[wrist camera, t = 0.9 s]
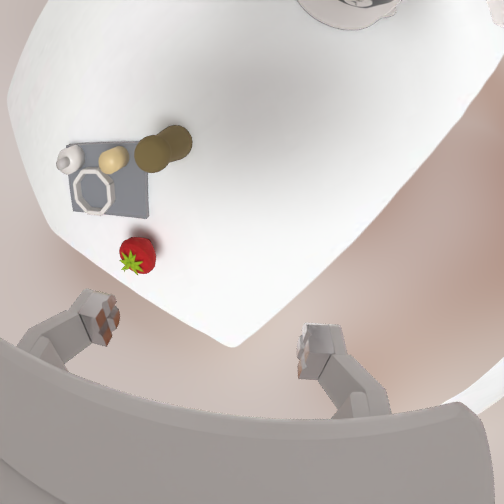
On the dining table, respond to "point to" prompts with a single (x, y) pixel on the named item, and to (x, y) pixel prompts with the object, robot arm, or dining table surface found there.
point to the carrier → (105, 179)
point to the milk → (497, 11)
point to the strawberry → (138, 255)
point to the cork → (162, 148)
